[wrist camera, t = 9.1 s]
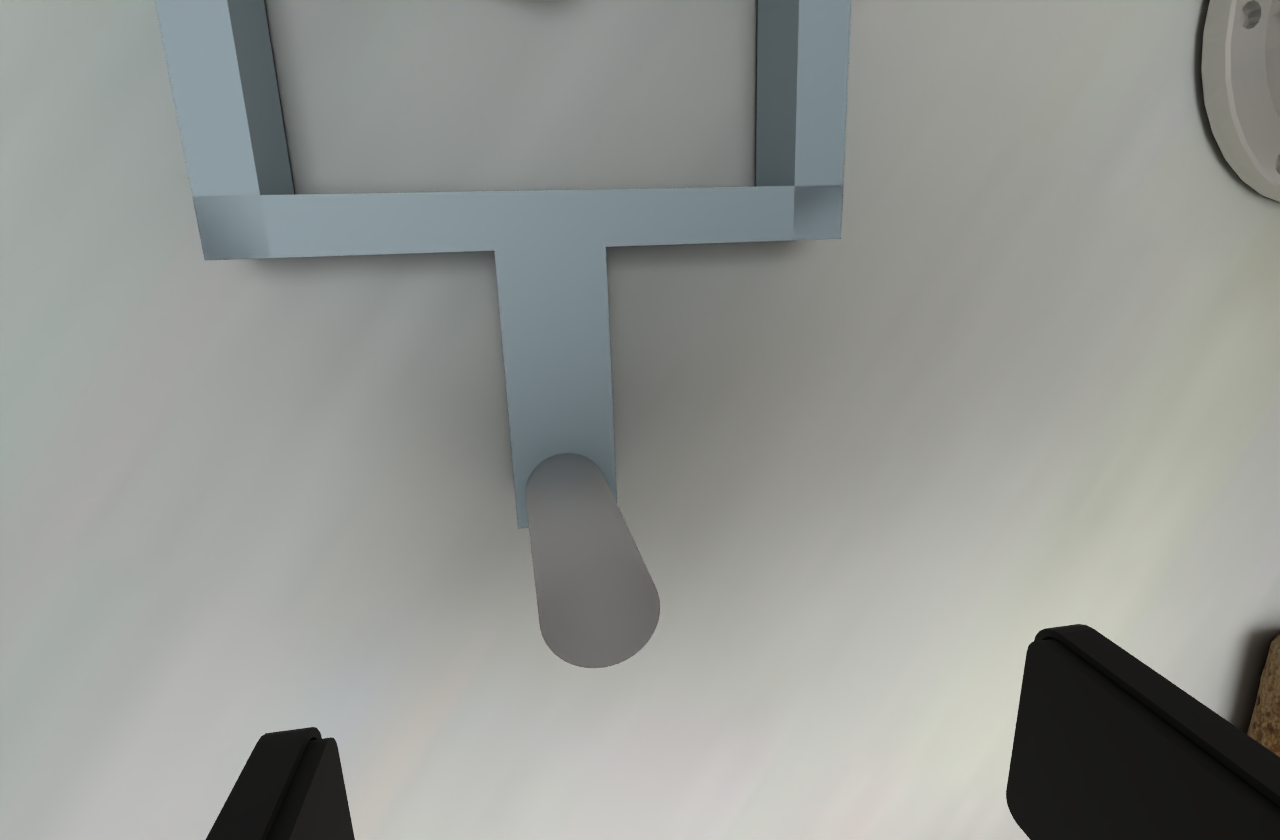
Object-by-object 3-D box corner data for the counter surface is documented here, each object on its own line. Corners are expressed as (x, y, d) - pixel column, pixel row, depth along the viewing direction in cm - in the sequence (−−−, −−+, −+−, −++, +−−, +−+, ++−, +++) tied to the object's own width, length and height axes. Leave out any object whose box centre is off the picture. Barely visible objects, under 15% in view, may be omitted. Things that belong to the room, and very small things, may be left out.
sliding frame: (120, -462, 15) (-514, -1655, 6) (813, -360, 18) (1149, -1014, 9) (294, 521, 21) (130, 739, 12) (791, 470, 24) (976, 610, 15)
